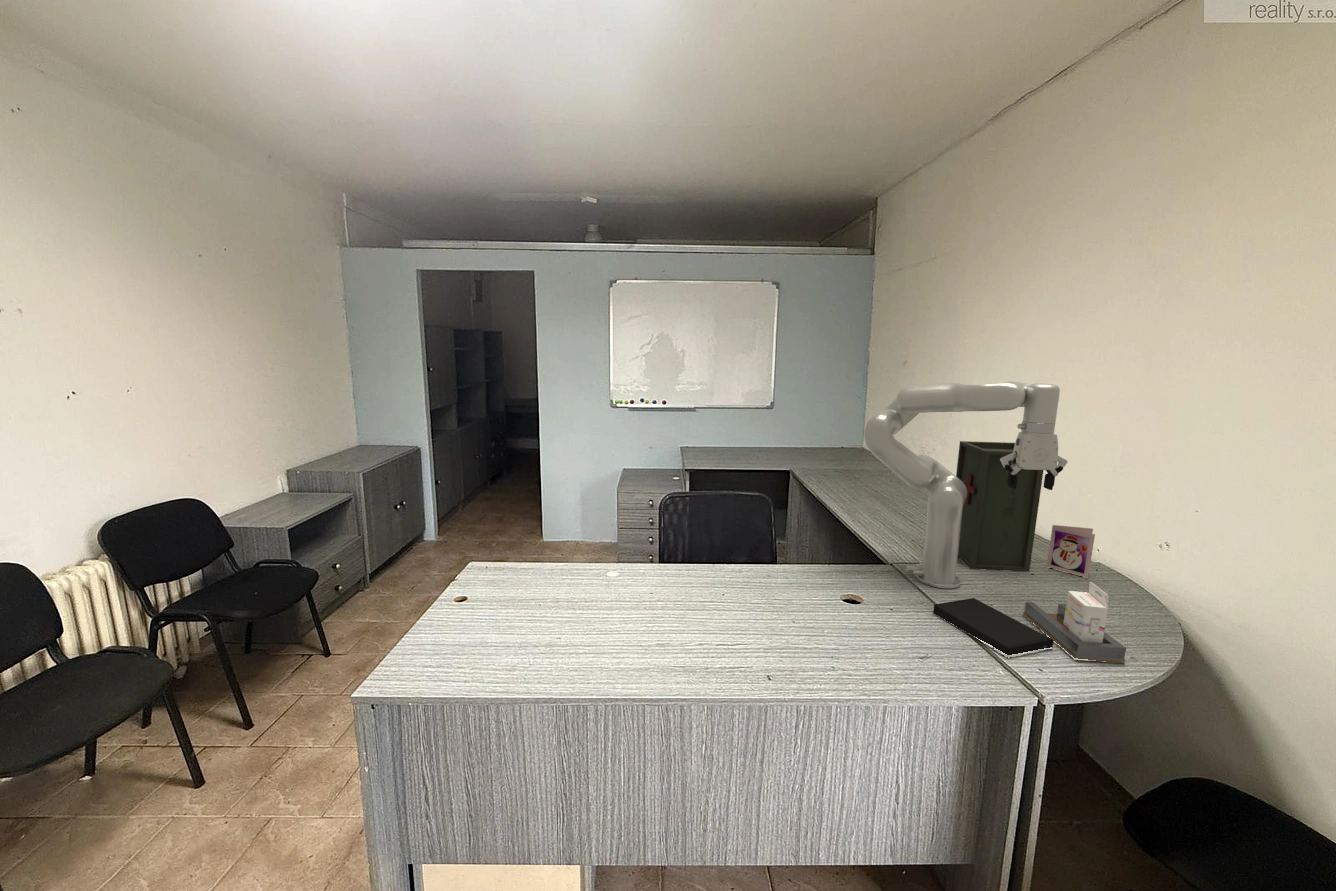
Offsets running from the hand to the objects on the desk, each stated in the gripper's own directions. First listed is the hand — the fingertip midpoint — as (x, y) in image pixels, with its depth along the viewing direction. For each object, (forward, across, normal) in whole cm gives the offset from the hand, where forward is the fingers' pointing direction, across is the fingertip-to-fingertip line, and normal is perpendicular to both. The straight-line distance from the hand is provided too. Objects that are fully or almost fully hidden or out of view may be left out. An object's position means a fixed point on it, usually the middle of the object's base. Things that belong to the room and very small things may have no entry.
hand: (1029, 488), depth 153 cm
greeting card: (+34, +29, +23) cm, 50 cm away
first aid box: (+34, +6, +30) cm, 45 cm away
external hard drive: (+34, -17, -20) cm, 43 cm away
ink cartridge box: (+32, +2, -26) cm, 42 cm away
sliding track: (+33, +2, -22) cm, 40 cm away
